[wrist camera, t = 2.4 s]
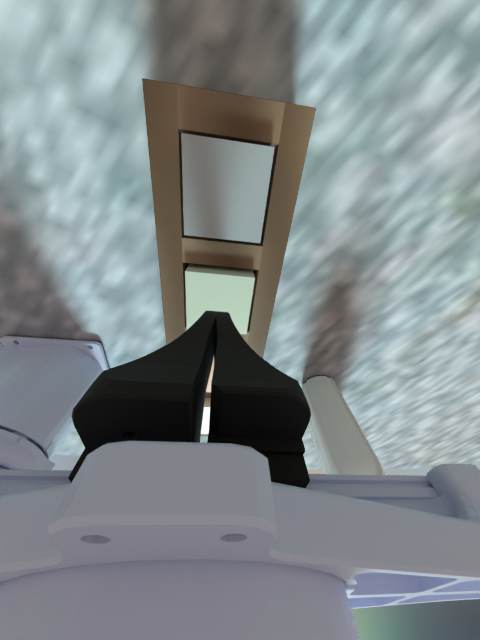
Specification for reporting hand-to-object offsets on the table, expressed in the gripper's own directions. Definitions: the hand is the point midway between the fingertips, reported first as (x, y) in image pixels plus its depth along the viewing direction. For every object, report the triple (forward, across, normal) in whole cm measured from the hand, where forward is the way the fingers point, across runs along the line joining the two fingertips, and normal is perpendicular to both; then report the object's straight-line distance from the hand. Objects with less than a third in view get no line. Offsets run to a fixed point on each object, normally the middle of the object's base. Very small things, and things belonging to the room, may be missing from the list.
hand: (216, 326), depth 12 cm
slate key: (+5, 0, -6) cm, 8 cm away
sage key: (+5, 0, 0) cm, 5 cm away
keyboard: (+8, 0, +3) cm, 9 cm away
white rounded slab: (+8, -14, +16) cm, 23 cm away
